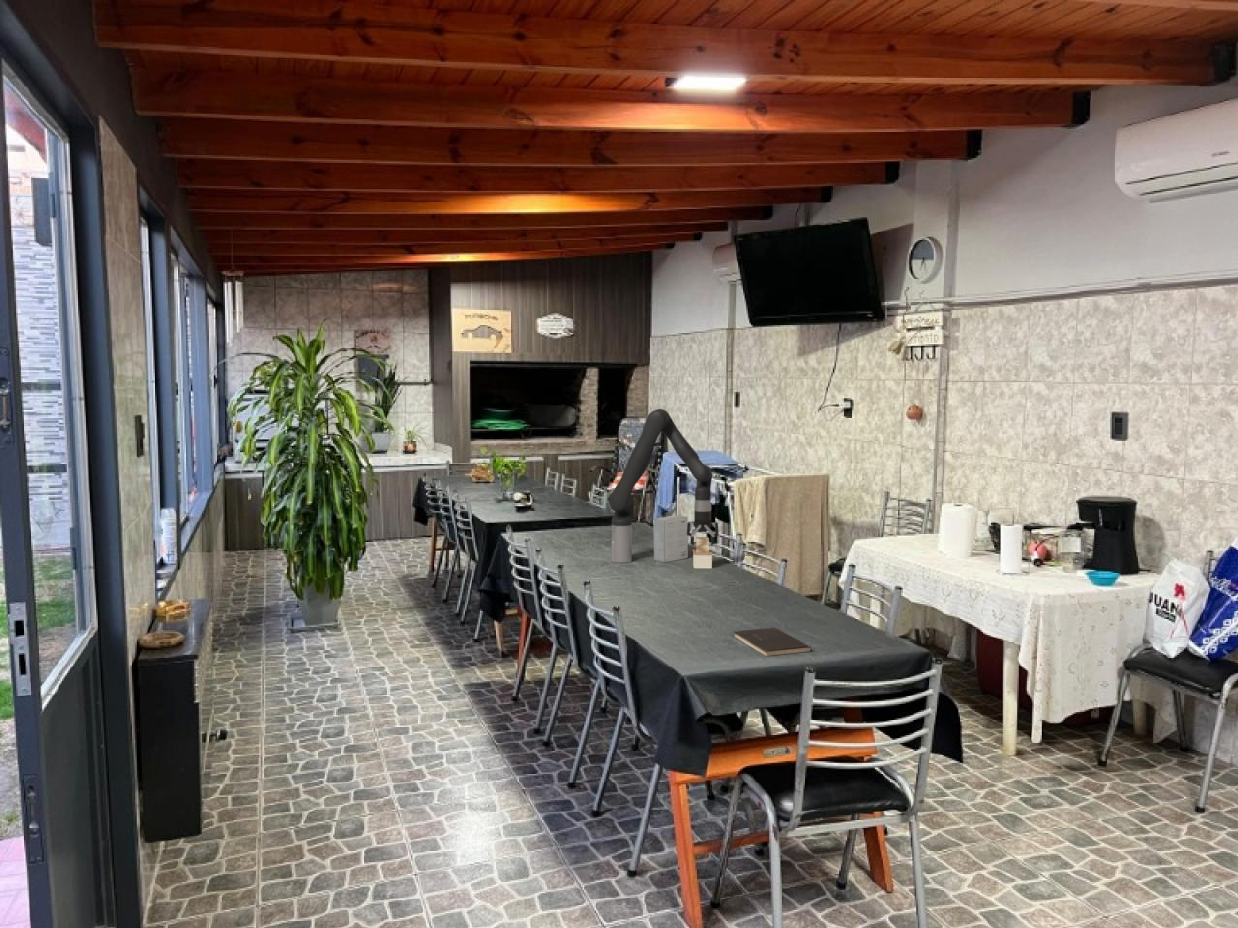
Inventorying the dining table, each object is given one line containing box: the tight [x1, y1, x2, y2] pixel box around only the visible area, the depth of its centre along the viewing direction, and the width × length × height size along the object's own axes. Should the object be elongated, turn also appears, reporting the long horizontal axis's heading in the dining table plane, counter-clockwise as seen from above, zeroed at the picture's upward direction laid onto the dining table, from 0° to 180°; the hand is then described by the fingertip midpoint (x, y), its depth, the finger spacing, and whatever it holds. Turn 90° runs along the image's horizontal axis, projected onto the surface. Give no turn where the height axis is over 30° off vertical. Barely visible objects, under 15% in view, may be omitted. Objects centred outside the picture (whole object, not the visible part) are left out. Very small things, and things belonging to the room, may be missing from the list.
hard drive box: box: [653, 514, 689, 563], centre depth 436 cm, size 16×8×20 cm, turn 130°
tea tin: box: [692, 549, 713, 569], centre depth 420 cm, size 8×8×7 cm
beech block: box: [695, 536, 710, 553], centre depth 420 cm, size 6×6×6 cm
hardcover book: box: [733, 627, 812, 657], centre depth 300 cm, size 16×23×2 cm
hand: (702, 544), depth 420 cm, fingers open, 8 cm apart
